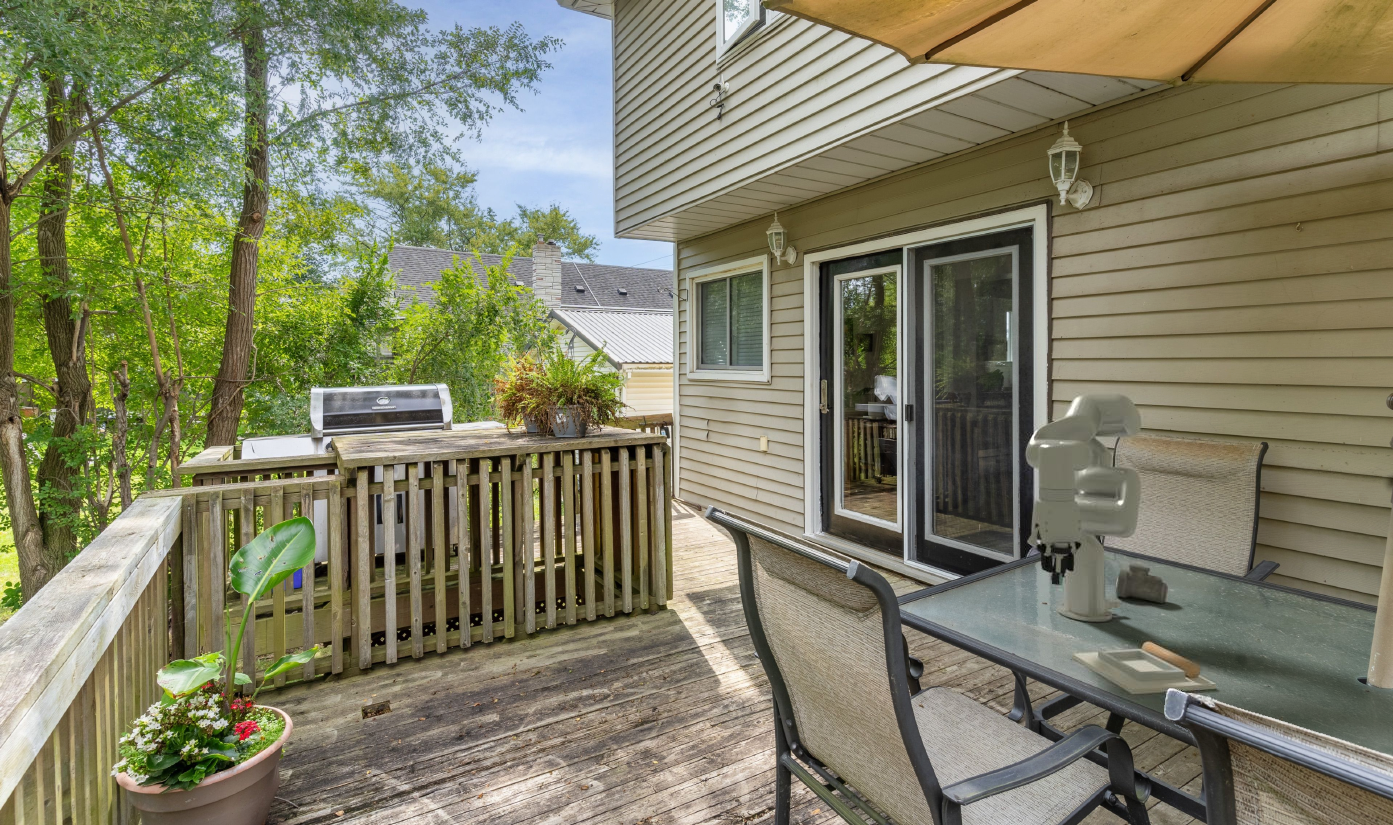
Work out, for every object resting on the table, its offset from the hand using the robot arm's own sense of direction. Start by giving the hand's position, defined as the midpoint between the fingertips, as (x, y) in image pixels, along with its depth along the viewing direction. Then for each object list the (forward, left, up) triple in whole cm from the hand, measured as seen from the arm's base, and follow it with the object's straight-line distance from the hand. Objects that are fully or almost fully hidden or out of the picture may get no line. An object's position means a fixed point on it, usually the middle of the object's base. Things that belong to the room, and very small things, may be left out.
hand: (1057, 569), depth 154 cm
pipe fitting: (-44, -27, -18) cm, 54 cm away
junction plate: (-7, +17, -18) cm, 26 cm away
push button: (0, 0, -3) cm, 3 cm away
